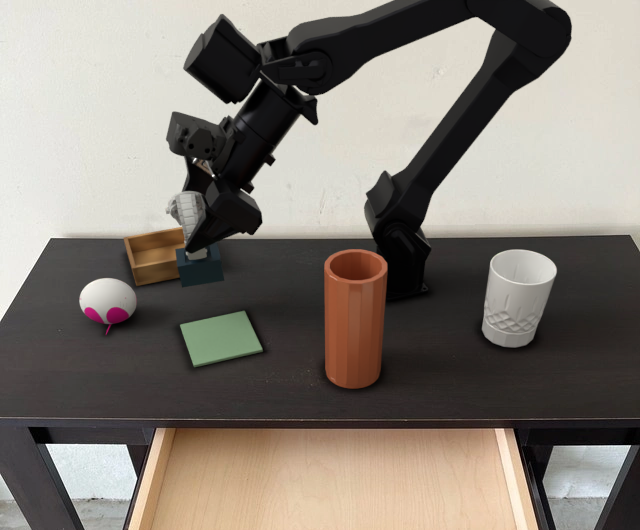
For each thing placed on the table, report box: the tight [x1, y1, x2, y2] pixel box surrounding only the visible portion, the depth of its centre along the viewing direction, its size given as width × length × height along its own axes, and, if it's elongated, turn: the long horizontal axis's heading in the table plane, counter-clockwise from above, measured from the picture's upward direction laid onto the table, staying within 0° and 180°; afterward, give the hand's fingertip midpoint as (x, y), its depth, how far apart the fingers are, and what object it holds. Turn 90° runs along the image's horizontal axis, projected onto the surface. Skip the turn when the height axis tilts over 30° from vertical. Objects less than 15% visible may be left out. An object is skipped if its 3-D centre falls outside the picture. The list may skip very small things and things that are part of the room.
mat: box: [179, 310, 264, 368], centre depth 87 cm, size 9×9×1 cm
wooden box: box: [123, 226, 185, 287], centre depth 99 cm, size 11×9×3 cm
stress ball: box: [77, 277, 138, 335], centre depth 89 cm, size 8×8×7 cm
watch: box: [164, 191, 225, 288], centre depth 83 cm, size 6×8×11 cm
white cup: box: [481, 249, 558, 348], centre depth 83 cm, size 8×8×10 cm
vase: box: [323, 248, 387, 390], centre depth 77 cm, size 7×7×15 cm
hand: (181, 234), depth 82 cm, fingers closed on watch, 8 cm apart
